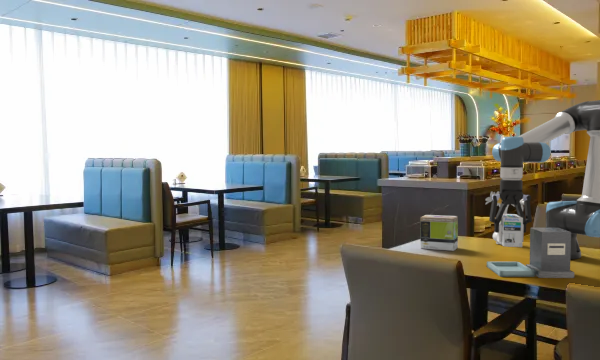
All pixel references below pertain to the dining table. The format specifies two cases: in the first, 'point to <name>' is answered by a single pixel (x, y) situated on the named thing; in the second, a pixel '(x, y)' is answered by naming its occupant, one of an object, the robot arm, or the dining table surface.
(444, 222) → the tea box
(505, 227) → the light bulb box
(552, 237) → the control unit
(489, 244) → the dining table surface
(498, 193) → the flower vase
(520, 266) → the tray
